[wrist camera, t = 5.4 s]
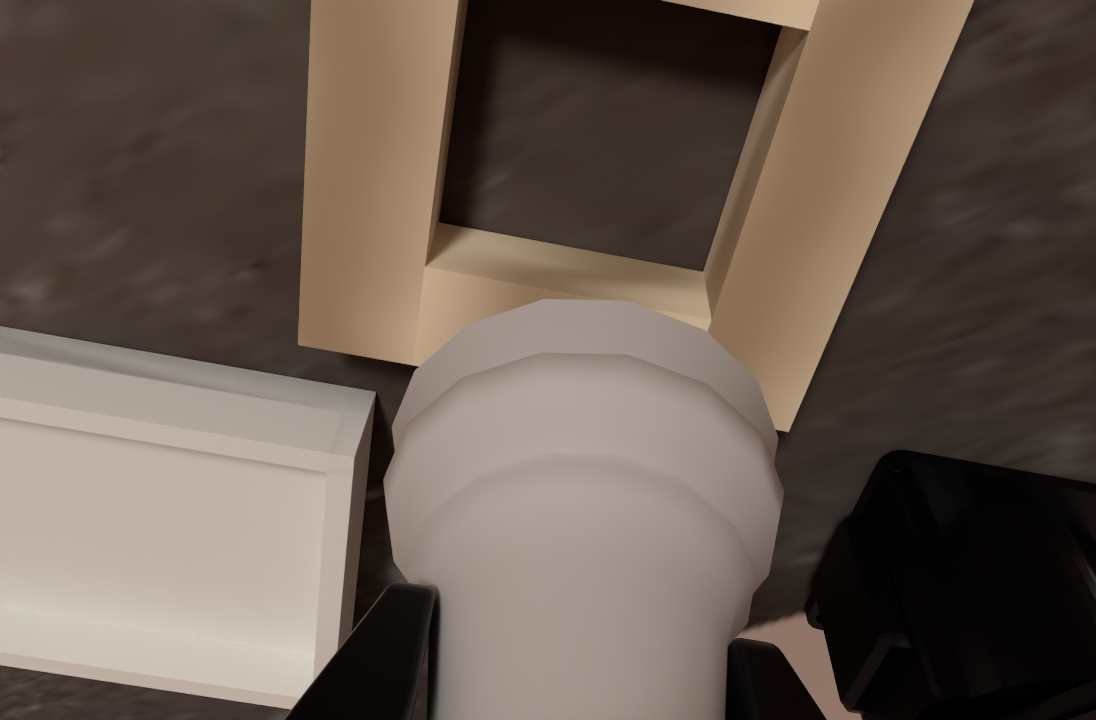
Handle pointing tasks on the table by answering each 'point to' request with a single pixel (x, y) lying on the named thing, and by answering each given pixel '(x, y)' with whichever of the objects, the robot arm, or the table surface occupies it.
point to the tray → (176, 519)
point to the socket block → (575, 274)
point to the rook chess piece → (583, 513)
